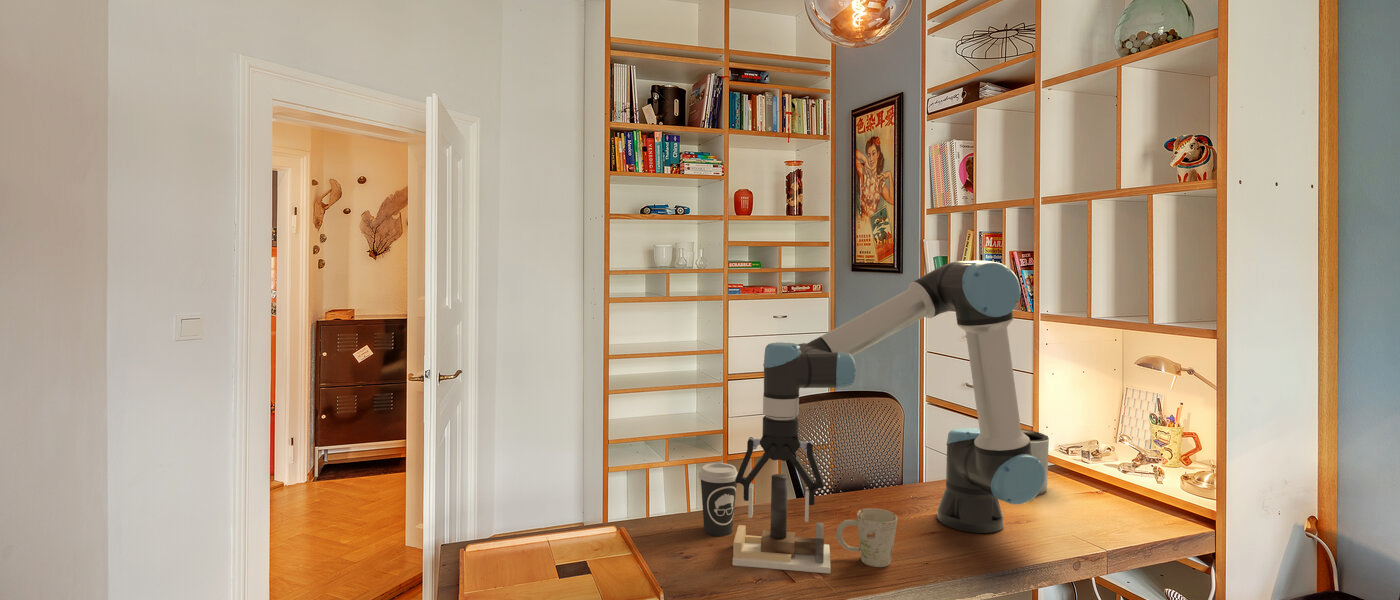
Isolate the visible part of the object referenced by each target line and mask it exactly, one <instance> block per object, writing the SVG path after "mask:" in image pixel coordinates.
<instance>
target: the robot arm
mask: <svg viewBox="0 0 1400 600" xmlns="http://www.w3.org/2000/svg"><path fill="white" fill-rule="evenodd" d="M1020 285H1021V284H1020V281H1019V278H1018V277H1017V275H1016V274H1015V273H1014V271H1013V270H1012V269H1011V268H1009V267H1008V266H1007V265H1005V264H1003V263H1000V262H997V261H996V262H995V261H991V260H967V261H965V260H956V261H955V260H954V261H952V262H948V263H946V264H944V265H941V266H939V267H938V268H936V269H933V270H931V271H929V272H928V273H926V274H925V275H922V276H921V277H919V278H918V279H915V280H914V281H912V282H910V283H909V285H908V288H907V289H906V290H904V291H902V292H901V293H897V295H895V296H893V297H891V298H889V299H887V300H886V301H884V302H882V303H880V304H878V305H876V306H874V307H873V308H871V309H869V310H867V311H865V312H864V313H862V314H860V315H857V316H856V317H853V318H852V319H850V320H848V321H847V322H845V323H843V324H841V325H839V326H837V327H836V328H834V329H832V330H829V331H828V332H827V333H824V334H823V335H820V336H819V337H816V338H814V339H812V340H810V341H809V342H807V343H806V342H802V343H794V342H793V343H792V342H772V343H768V344H767V345H766V346H765V348H764V355H763V365H762V367H763V395H762V414H763V415H764V416H763V417H762V434H761V435H762V436H761V438H753V437H752V436H749V438H748V440H747V444H746V445H747V447H746V448H747V449H746V452H745V454H744V457H743V459H742V462H741V464H740V467H739V469H738V471H737V472H738V474H737V476H736V479H735V481H736V483H737V484H740V485H742V486H743V501H744V502H748V507H747V508H748V511H747V513H748V515H747V518H750V519H752V518H753V514H754V483H752V482H753V481H754V479H755V478H756V477H757V475H758V474H759V472H761V469H762V468H763V467H764V466H765V464H766V463H767V462H768V461H769V459H771V460H772V461H785V462H787V461H788V460H789V461H790V463H791V465H792V466H794V468H795V470H796V471H797V473H798V474H799V476H800V477H801V479H802V480H803V482H804V484H805V494H804V496H805V498H804V499H805V501H804V503H805V504H804V522H805V523H809V515H810V514H809V510H810V506H814V505H815V498H816V497H815V494H816V490H817V489H823V488H824V486H825V485H824V480H823V477H822V473H821V471H820V468H819V465H818V463H817V459H816V457H815V454H814V450H813V449H814V447H813V445H814V443H813V441H812V440H811V439H809V440H807V441H802V440H801V441H800V439H799V418H798V417H797V416H799V413H800V412H799V411H800V410H799V409H800V408H799V407H800V389H808V388H809V389H817V388H818V389H821V388H822V389H826V388H828V389H829V388H830V389H832V388H833V389H840V388H849V387H851V386H852V385H853V384H854V383H855V380H856V376H857V367H856V361H855V359H854V357H853V356H855V355H856V354H858V353H860V352H863V351H864V350H865V349H866V350H867V349H868V348H869V347H870V348H871V346H874V345H875V344H877V343H879V342H881V341H883V340H884V339H886V338H888V337H890V336H892V335H894V334H896V333H898V332H900V331H901V330H903V329H905V328H907V327H909V326H911V325H912V324H914V323H916V322H918V321H920V320H921V319H924V318H926V319H932V318H934V317H936V316H939V315H940V314H943V313H948V312H955V318H956V325H957V326H958V327H960V328H961V329H962V330H964V332H965V336H966V343H967V344H966V345H967V351H968V358H969V365H970V370H971V371H970V373H971V378H972V379H971V380H972V384H973V392H974V400H975V406H976V412H977V413H976V414H977V421H978V428H976V427H975V428H974V427H960V428H953V429H951V430H950V431H949V432H948V435H947V441H946V466H945V467H946V468H945V473H946V474H945V476H946V477H945V490H944V491H943V493H942V495H941V496H942V497H941V499H940V502H939V504H938V507H937V515H936V516H937V517H936V518H937V520H938V521H939V523H941V524H942V525H945V526H946V527H948V528H952V529H954V530H958V531H961V532H967V533H975V534H989V533H996V532H999V531H1001V530H1002V529H1004V514H1003V512H1002V509H1001V505H1000V502H999V501H1003V502H1005V503H1007V504H1011V505H1022V504H1023V505H1024V504H1027V503H1028V502H1030V501H1032V500H1033V499H1035V497H1037V493H1038V492H1039V491H1041V489H1042V487H1043V485H1044V482H1045V470H1044V467H1043V465H1042V463H1041V462H1040V461H1039V460H1038V459H1037V458H1036V457H1035V456H1032V451H1031V444H1030V439H1029V437H1028V436H1026V435H1025V434H1024V433H1022V431H1021V429H1022V428H1021V427H1022V426H1021V419H1020V412H1019V411H1020V410H1019V407H1018V405H1019V404H1018V397H1017V391H1016V384H1015V377H1014V376H1015V375H1014V368H1013V361H1012V354H1011V345H1010V339H1009V334H1008V333H1009V332H1008V326H1009V325H1010V324H1011V323H1012V321H1014V313H1013V310H1014V309H1015V308H1016V307H1017V304H1018V303H1019V302H1020V299H1021V286H1020ZM758 446H760V447H761V448H762V450H763V451H764V452H763V454H762V456H761V457H760V458H759V459H758V461H757V462H756V464H755V465H754V466H753V467H752V469H751V470H750V472H749V473H748V474H747V476H746V477H745V476H744V474H745V472H746V470H747V467H748V464H749V463H750V459H751V457H752V454H753V452H754V450H756V449H757V448H758ZM800 448H801V449H802V450H803V453H806V457H807V460H808V463H809V465H810V468H811V471H812V474H813V476H814V479H815V481H814V480H813V479H812V478H811V476H810V474H809V473H808V471H807V470H806V468H805V466H803V463H802V462H801V461H800V459H799V456H798V455H797V451H798V450H799V449H800Z"/></svg>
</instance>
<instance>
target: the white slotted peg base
mask: <svg viewBox="0 0 1400 600" xmlns="http://www.w3.org/2000/svg"><path fill="white" fill-rule="evenodd" d="M746 527H747V526H746V525H743V524H742V525H741V524H739V525H738V526H737V529H736V533H735V536H734V540H733V543H732V544H733V549H732V551H733V552H732V553H733V554H732V555H733V557H732V566H735V567H747V568H748V567H749V568H761V569H773V570H784V571H785V570H786V571H796V572H808V573H817V574H818V573H819V574H820V573H821V574H831V569H832V568H831V553H830V552H831V551H830V549H831V548H830V544H826V543H824V556H823V563H821V562H815V554H808V553H796V552H794V557H791V554H781V553H768V552H761V537H762V535H760V536H759V535H748V534H746V533H747V531H746V530H747V528H746Z"/></svg>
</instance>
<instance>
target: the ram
mask: <svg viewBox="0 0 1400 600" xmlns="http://www.w3.org/2000/svg"><path fill="white" fill-rule="evenodd" d="M788 478H789V477H788V475H786V474H782V473H775V474H772V475H771V483H770V484H771V485H770V488H771V489H770V495H771V496H770V530H768V529H762V534H761V536H762V537H761V552H768V553H781V554H791V557H794V552H796V553H808V554H815V562H821V563H823V556H824V544H825V533H824V530H825V529H824V522H815V538H813V537H799V536H796V532H795V531H787V523H788V522H787V519H788V517H787V516H788V484H789V483H788Z"/></svg>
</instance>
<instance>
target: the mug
mask: <svg viewBox="0 0 1400 600" xmlns="http://www.w3.org/2000/svg"><path fill="white" fill-rule="evenodd" d="M897 524H898V516H897V514H896V513H894V512H893V511H890V510H887V509H886V510H885V509H882V508H874V507H873V508H870V507H869V508H862V509H859V510H858V511H857V512H856V519H845V520H842V522H840V523H839V524H838V526H837V527H836V531H835V537H836V540H837V543H838V544H839V545H840V546H842V547H843V548H844V549H845V550H847V551H850V552H860V559H861V562H862V563H864V564H865V565H866V566H869V567H875V568H885V567H887V566H888V567H889V566H890V565H891V562H892V556H893V555H892V554H893V549H894V543H895V537H896V531H897ZM849 526H852V527H857V531H858V541H859V543H858V545H859V547H858V546H850V545H848V544H847V543H846V542H845V540H844V539H843V532H844V530H845V529H846V528H847V527H849Z"/></svg>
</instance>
